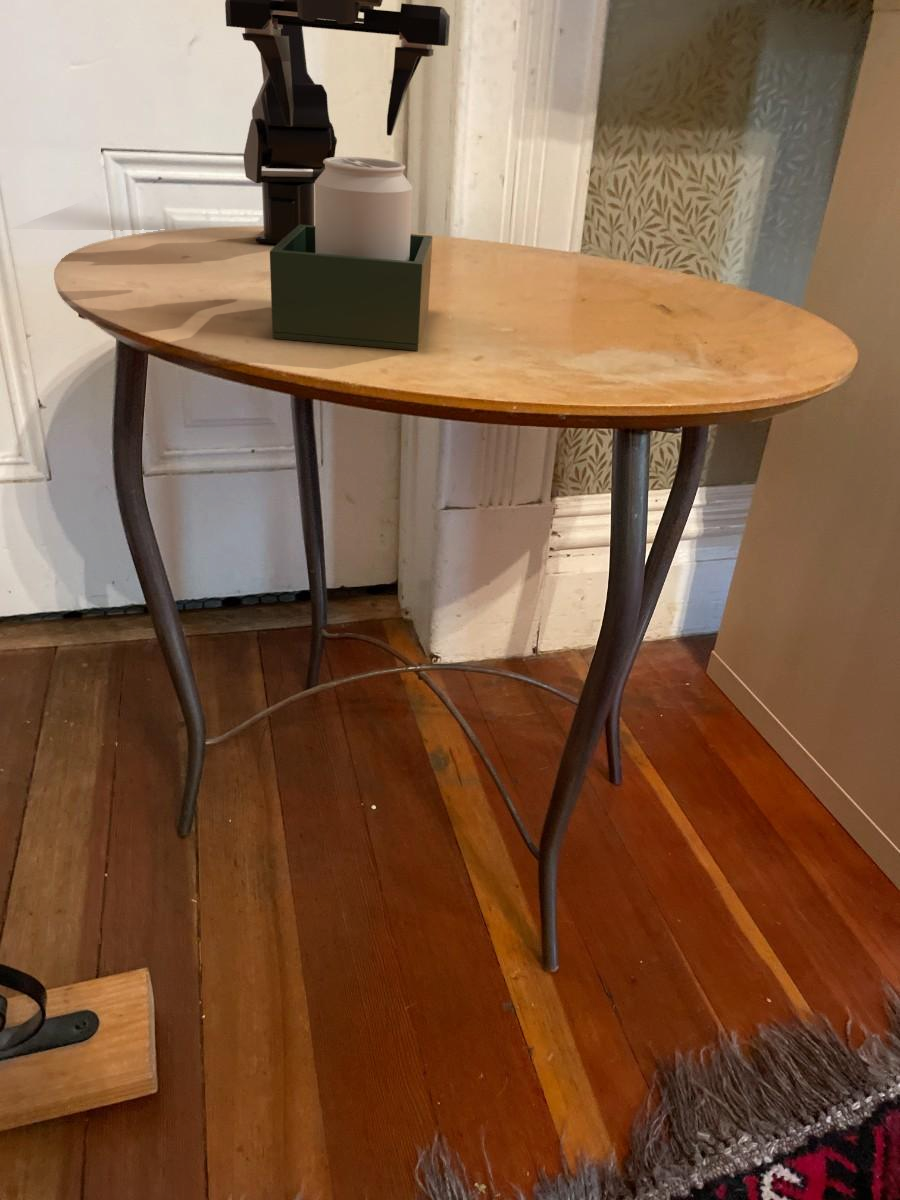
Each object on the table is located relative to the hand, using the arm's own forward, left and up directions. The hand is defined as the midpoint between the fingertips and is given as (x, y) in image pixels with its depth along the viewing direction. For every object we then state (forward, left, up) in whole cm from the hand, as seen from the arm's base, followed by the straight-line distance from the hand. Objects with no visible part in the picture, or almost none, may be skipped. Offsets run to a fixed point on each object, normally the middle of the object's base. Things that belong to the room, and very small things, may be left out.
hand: (339, 130), depth 81 cm
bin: (+17, +4, -13) cm, 22 cm away
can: (+17, +5, -13) cm, 21 cm away
